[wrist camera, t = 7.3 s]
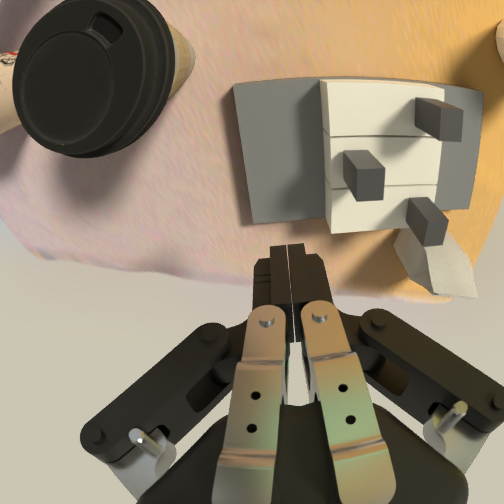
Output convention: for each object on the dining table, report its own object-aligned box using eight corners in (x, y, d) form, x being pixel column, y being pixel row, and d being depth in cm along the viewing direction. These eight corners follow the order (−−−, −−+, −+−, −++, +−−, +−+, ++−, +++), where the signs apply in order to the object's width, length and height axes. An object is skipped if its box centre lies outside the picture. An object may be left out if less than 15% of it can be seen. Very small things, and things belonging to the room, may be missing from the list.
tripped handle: (343, 150, 22) (357, 169, 19) (367, 149, 22) (385, 168, 18) (343, 178, 23) (356, 201, 20) (366, 177, 23) (383, 200, 20)
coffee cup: (230, 27, 21) (194, -7, 8) (195, 121, 26) (135, 191, 14) (131, 7, 19) (23, -13, 7) (105, 98, 24) (-3, 150, 12)
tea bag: (404, 219, 31) (443, 277, 23) (447, 230, 32) (487, 285, 24) (392, 245, 33) (423, 307, 25) (434, 254, 34) (469, 311, 26)
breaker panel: (234, 83, 24) (221, 96, 16) (472, 88, 21) (532, 111, 14) (253, 213, 31) (250, 273, 24) (460, 200, 29) (503, 247, 22)
